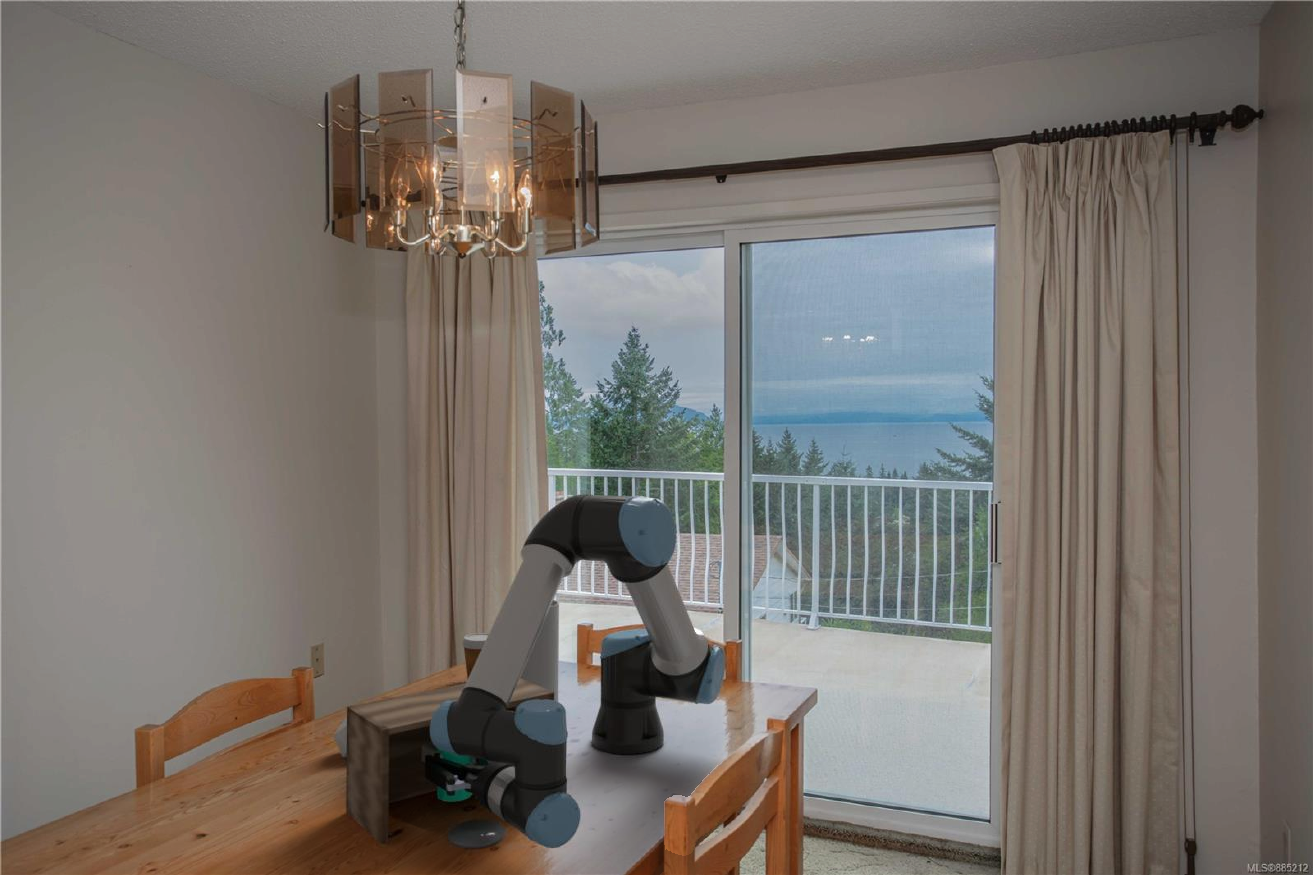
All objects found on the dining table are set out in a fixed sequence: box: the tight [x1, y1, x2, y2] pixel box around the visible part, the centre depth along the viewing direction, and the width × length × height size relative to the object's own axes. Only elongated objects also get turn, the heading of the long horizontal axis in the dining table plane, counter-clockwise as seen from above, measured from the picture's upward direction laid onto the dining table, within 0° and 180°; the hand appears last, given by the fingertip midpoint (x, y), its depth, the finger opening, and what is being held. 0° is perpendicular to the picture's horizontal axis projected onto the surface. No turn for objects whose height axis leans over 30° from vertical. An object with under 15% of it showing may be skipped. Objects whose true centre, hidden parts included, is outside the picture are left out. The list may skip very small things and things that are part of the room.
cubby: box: [345, 678, 554, 845], centre depth 152 cm, size 15×32×18 cm, turn 130°
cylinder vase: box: [520, 599, 560, 702], centre depth 204 cm, size 12×12×25 cm
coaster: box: [447, 818, 506, 850], centre depth 140 cm, size 9×9×1 cm
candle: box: [436, 748, 473, 803], centre depth 149 cm, size 6×6×12 cm
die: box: [332, 715, 347, 758], centre depth 175 cm, size 8×9×10 cm
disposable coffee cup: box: [461, 632, 490, 680], centre depth 226 cm, size 10×10×12 cm
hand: (440, 748), depth 153 cm, fingers closed on candle, 5 cm apart
